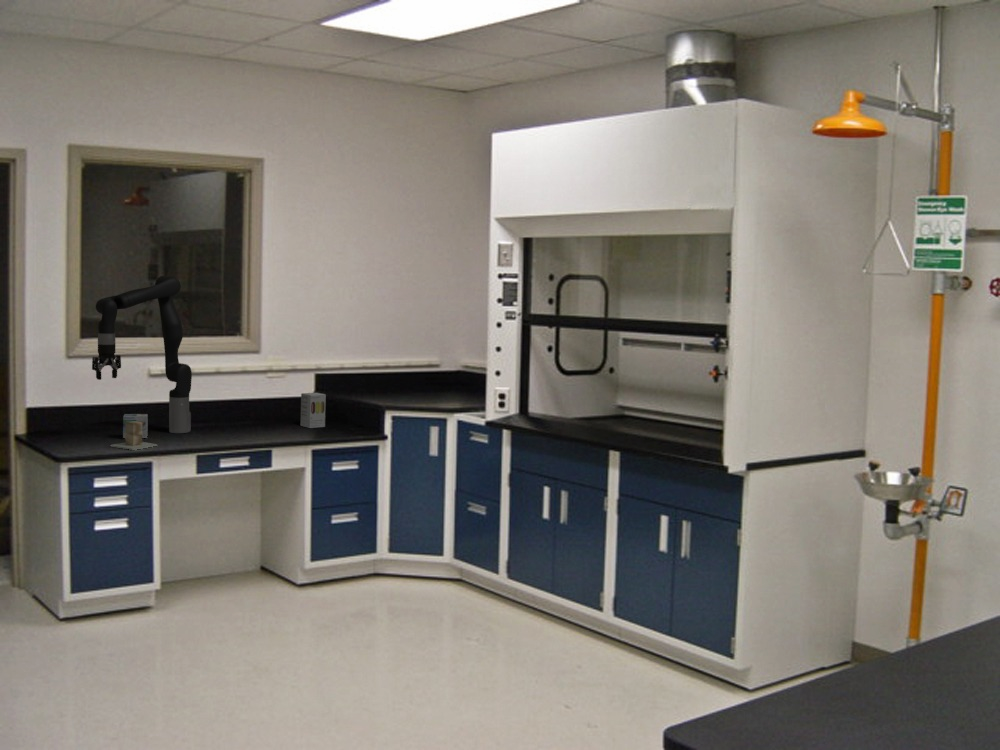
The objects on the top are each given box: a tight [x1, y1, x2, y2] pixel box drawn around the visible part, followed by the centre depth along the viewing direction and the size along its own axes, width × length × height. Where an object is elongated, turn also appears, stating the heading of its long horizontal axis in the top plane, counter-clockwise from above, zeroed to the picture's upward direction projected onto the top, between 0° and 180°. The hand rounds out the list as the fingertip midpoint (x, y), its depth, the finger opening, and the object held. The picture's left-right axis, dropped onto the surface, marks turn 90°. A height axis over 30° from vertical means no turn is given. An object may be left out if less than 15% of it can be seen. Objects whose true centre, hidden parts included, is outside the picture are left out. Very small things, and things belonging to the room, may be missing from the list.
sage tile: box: [109, 441, 158, 451], centre depth 478 cm, size 14×14×1 cm
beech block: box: [124, 421, 143, 446], centre depth 477 cm, size 5×5×10 cm
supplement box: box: [300, 392, 327, 429], centre depth 549 cm, size 10×9×17 cm
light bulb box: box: [122, 413, 149, 439], centre depth 499 cm, size 11×7×11 cm, turn 105°
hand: (106, 378), depth 489 cm, fingers open, 8 cm apart
